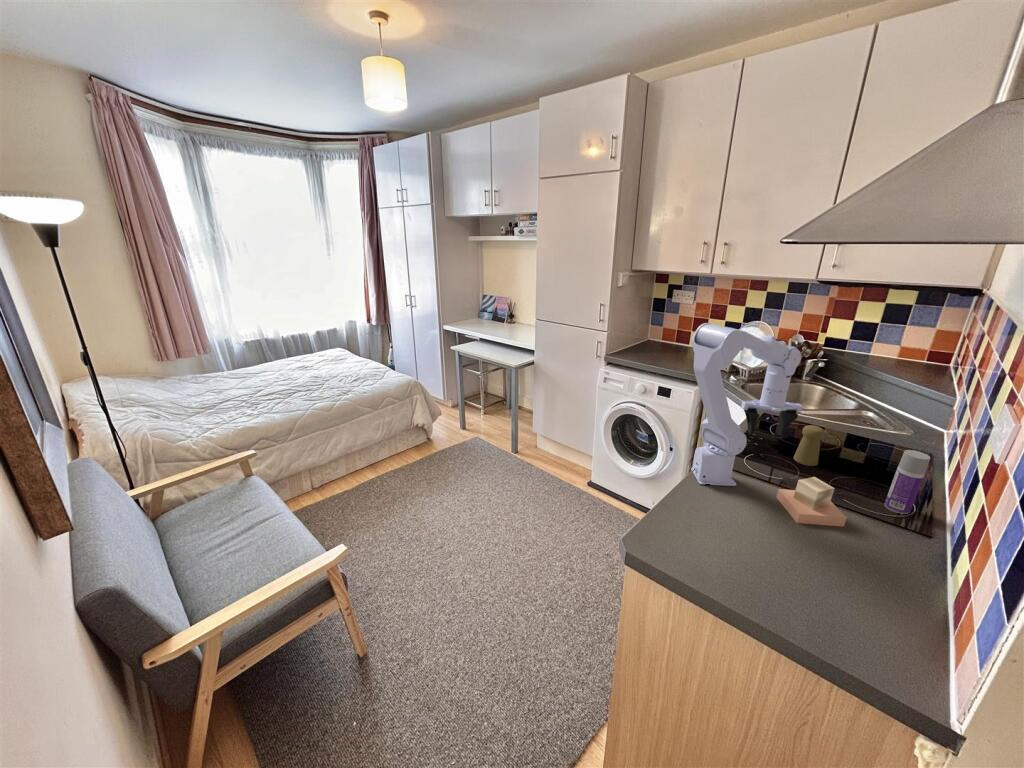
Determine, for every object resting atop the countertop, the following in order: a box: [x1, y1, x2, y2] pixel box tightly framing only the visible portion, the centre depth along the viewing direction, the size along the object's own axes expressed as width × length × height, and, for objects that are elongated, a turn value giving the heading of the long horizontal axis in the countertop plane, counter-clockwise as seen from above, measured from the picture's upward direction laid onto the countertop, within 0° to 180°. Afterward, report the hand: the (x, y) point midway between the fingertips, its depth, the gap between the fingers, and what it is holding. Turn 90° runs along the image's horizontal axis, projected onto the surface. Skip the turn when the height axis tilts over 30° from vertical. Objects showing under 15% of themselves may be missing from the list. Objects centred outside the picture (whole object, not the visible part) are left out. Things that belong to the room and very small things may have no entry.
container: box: [883, 449, 931, 515], centre depth 97 cm, size 5×5×15 cm
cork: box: [793, 424, 825, 467], centre depth 119 cm, size 6×6×11 cm
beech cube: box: [794, 476, 835, 510], centre depth 97 cm, size 5×5×5 cm
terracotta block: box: [776, 488, 848, 527], centre depth 98 cm, size 10×10×3 cm
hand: (764, 433), depth 115 cm, fingers open, 7 cm apart
